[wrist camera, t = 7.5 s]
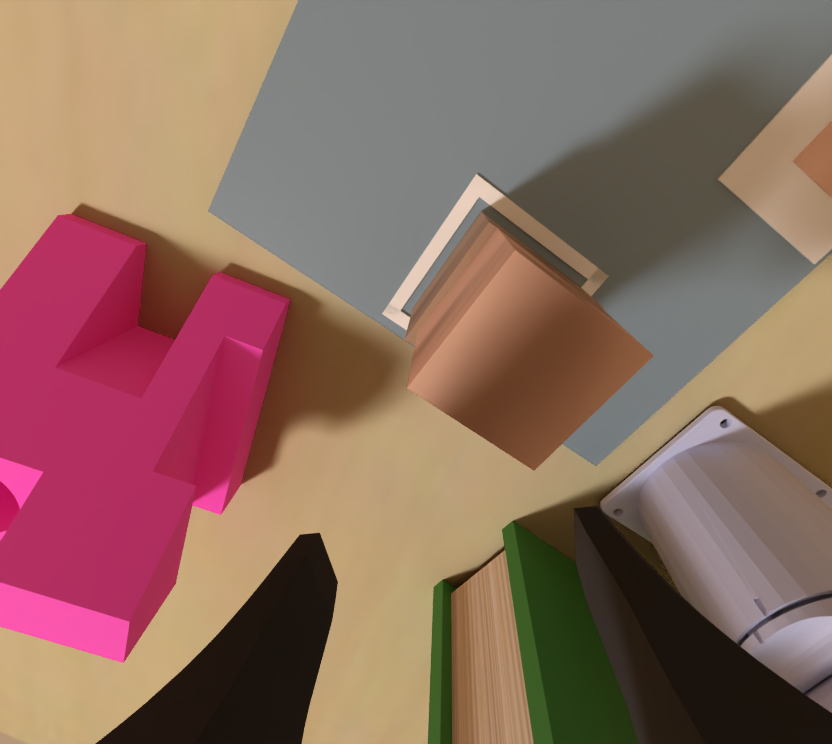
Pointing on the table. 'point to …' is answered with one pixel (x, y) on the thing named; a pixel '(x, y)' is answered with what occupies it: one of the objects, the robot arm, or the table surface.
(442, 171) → the mat
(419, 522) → the table surface
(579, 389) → the terracotta block
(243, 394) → the bracket
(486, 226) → the walnut block
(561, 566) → the hardback book
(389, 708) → the table surface
